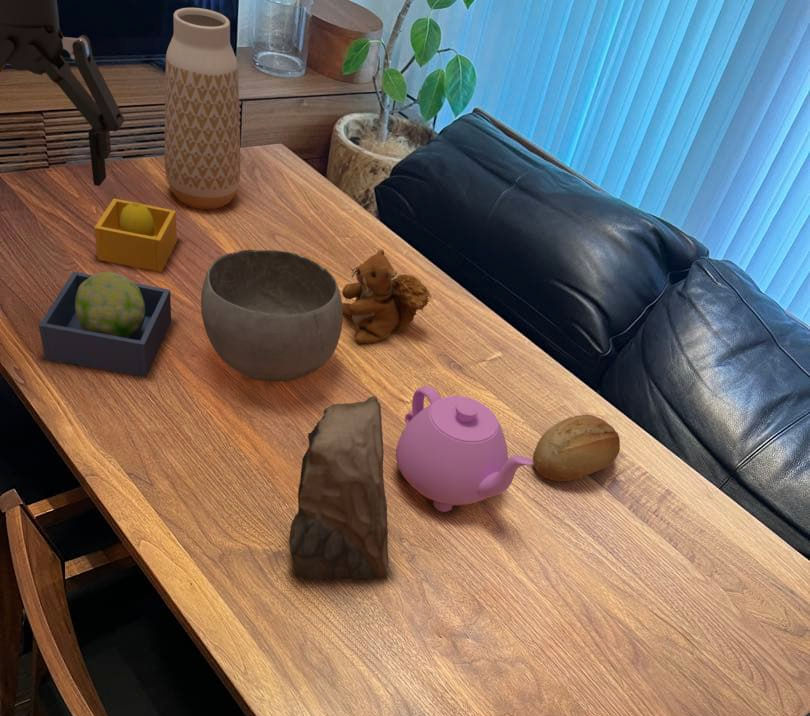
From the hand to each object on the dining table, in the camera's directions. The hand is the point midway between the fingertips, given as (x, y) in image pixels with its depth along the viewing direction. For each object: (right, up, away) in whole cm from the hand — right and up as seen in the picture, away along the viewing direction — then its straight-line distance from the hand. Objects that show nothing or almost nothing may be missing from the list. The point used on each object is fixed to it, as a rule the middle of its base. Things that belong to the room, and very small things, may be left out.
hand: (46, 170), depth 103 cm
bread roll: (+72, -36, +19) cm, 82 cm away
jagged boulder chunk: (+38, -49, -1) cm, 62 cm away
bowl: (+25, -20, +22) cm, 39 cm away
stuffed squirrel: (+42, -11, +34) cm, 55 cm away
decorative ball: (+2, -17, +18) cm, 25 cm away
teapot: (+52, -40, +11) cm, 67 cm away
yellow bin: (0, +3, +36) cm, 36 cm away
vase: (+7, +19, +52) cm, 56 cm away
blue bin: (+1, -17, +19) cm, 25 cm away
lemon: (0, +3, +35) cm, 35 cm away
